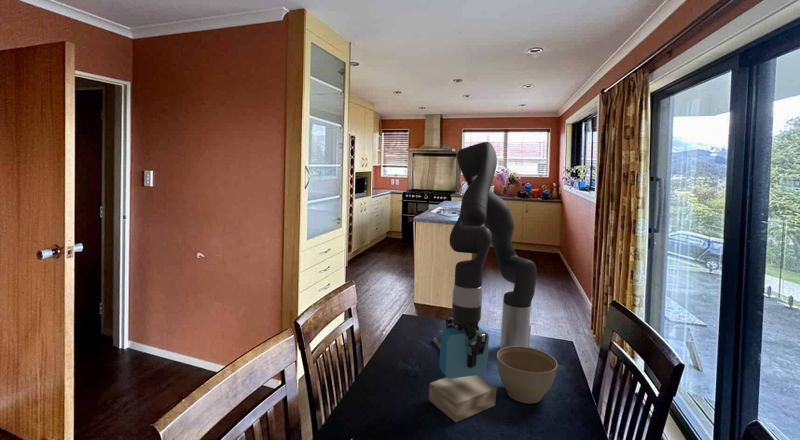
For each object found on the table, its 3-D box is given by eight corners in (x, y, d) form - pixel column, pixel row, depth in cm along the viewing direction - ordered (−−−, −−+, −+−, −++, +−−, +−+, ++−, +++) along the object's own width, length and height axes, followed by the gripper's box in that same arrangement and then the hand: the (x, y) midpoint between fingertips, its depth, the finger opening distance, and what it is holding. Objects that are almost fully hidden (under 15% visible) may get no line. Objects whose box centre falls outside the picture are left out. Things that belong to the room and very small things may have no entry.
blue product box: (478, 365, 110) (481, 324, 109) (486, 374, 106) (489, 331, 104) (438, 371, 107) (440, 328, 105) (445, 379, 102) (447, 335, 101)
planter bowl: (563, 395, 112) (567, 359, 111) (537, 420, 101) (540, 380, 100) (512, 373, 124) (514, 340, 122) (483, 393, 112) (485, 357, 111)
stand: (466, 385, 116) (467, 369, 115) (495, 405, 107) (496, 387, 106) (428, 400, 108) (429, 383, 107) (455, 422, 99) (456, 403, 98)
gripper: (438, 295, 108) (435, 354, 110) (475, 312, 96) (471, 378, 98) (459, 291, 112) (456, 348, 114) (497, 307, 100) (493, 370, 102)
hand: (463, 362), depth 106 cm, fingers closed on blue product box, 5 cm apart
